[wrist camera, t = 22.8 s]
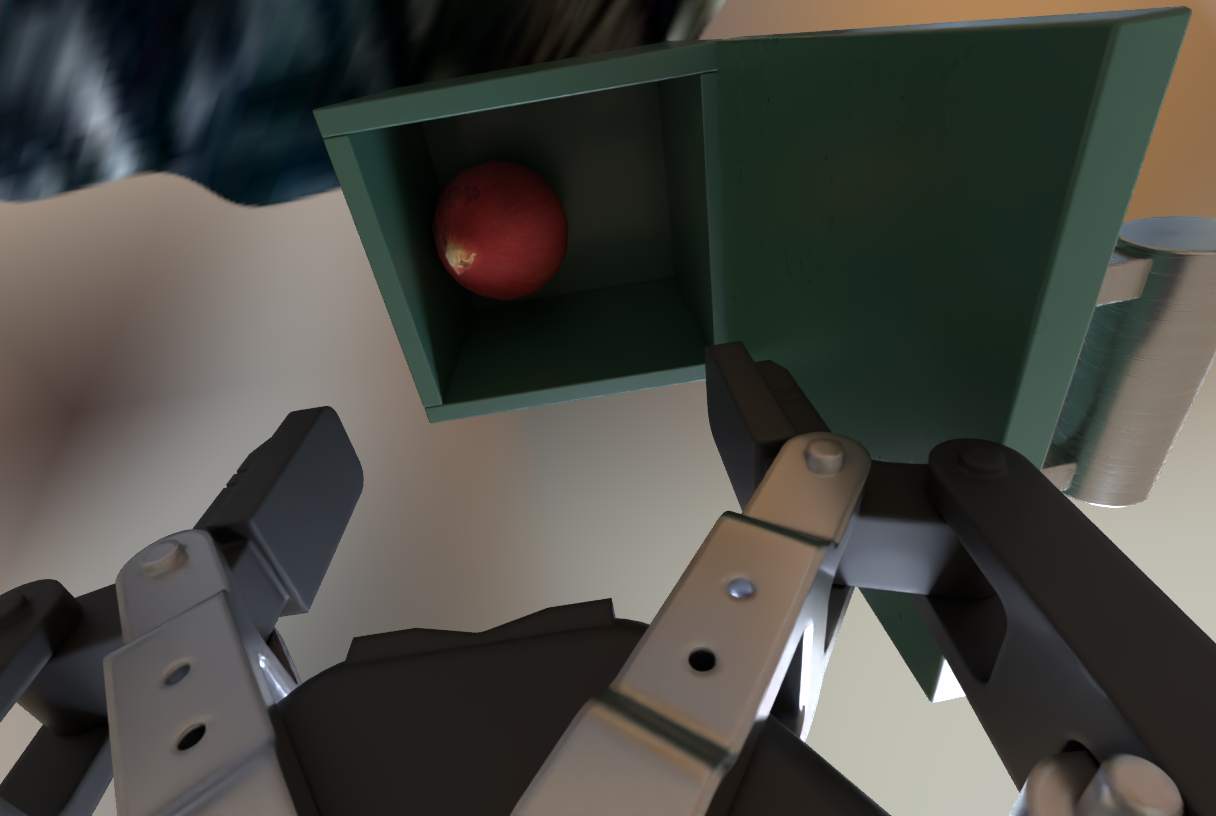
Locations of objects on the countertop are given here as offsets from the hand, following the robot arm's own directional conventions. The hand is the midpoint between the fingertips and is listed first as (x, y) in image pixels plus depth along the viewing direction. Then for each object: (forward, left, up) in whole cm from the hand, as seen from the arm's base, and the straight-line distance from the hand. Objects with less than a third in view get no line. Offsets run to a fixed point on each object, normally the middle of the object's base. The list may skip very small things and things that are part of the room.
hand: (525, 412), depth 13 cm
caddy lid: (+7, 0, -2) cm, 7 cm away
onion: (0, 0, -19) cm, 19 cm away
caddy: (+1, 0, -20) cm, 20 cm away
